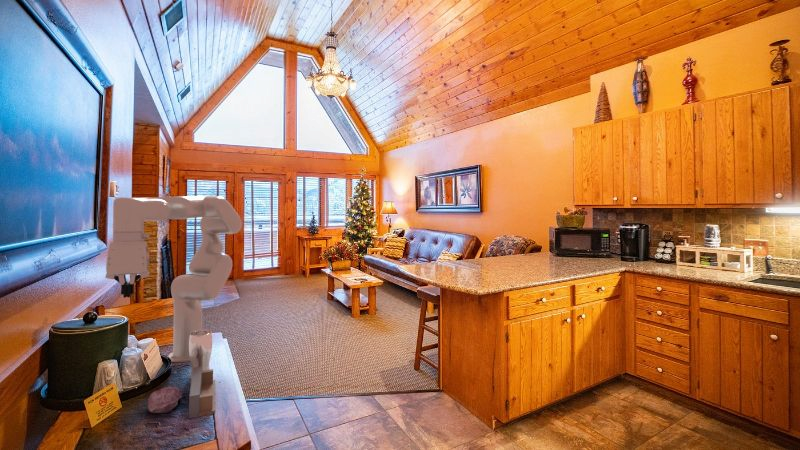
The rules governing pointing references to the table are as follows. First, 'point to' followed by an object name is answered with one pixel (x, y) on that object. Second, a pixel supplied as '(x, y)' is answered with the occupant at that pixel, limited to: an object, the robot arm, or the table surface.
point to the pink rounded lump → (164, 400)
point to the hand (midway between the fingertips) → (127, 296)
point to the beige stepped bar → (202, 393)
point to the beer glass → (200, 349)
